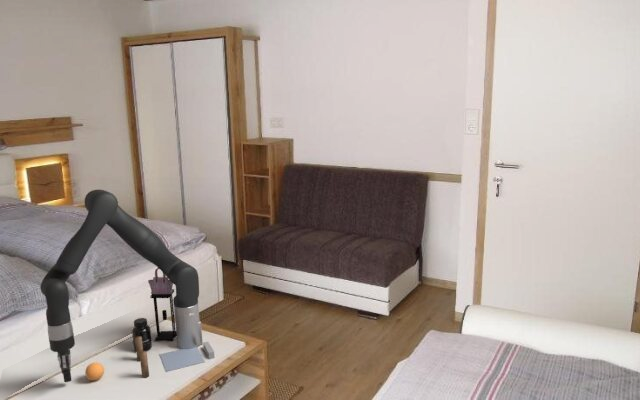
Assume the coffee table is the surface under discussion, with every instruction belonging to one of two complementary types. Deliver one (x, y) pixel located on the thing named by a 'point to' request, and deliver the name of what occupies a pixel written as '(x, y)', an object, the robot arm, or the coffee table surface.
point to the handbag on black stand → (163, 289)
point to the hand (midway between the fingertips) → (67, 380)
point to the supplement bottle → (142, 333)
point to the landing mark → (181, 358)
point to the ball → (94, 371)
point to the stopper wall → (208, 350)
